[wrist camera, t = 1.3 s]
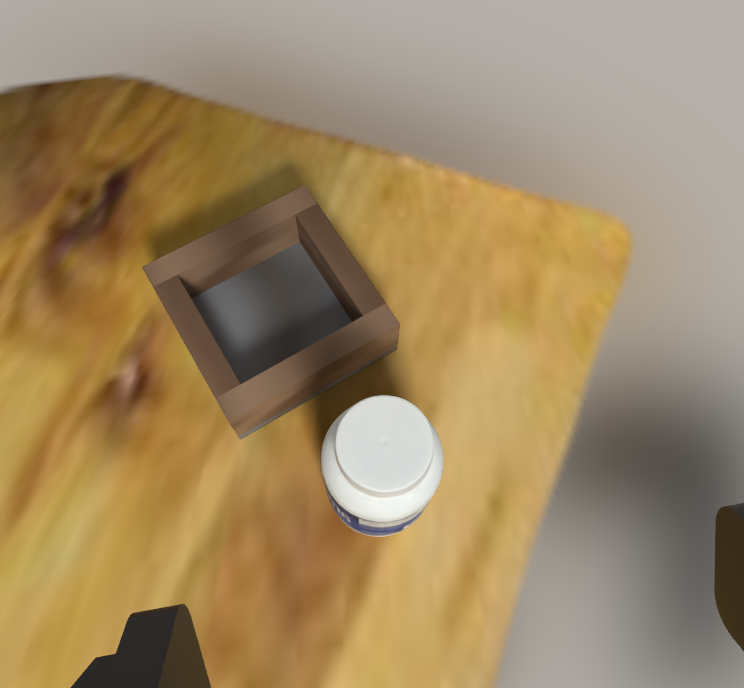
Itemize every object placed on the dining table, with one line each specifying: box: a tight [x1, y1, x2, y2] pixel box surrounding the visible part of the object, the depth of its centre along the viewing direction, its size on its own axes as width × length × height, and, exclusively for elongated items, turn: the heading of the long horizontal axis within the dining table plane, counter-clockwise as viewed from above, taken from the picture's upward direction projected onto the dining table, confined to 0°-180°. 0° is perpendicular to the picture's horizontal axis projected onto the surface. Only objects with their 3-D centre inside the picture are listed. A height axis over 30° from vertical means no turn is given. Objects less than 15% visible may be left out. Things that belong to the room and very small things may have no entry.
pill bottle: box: [321, 395, 443, 537], centre depth 32 cm, size 5×5×10 cm
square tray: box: [142, 185, 400, 439], centre depth 38 cm, size 10×10×4 cm
